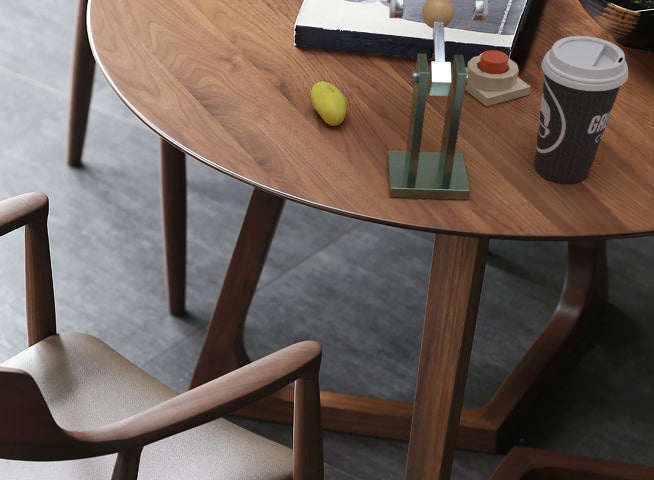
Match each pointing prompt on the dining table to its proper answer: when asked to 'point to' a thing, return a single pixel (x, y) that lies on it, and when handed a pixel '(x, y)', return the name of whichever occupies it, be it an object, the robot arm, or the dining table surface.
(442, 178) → the bracket
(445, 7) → the lever
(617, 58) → the coffee cup
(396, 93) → the dining table surface
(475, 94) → the button box
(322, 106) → the lemon
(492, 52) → the button
